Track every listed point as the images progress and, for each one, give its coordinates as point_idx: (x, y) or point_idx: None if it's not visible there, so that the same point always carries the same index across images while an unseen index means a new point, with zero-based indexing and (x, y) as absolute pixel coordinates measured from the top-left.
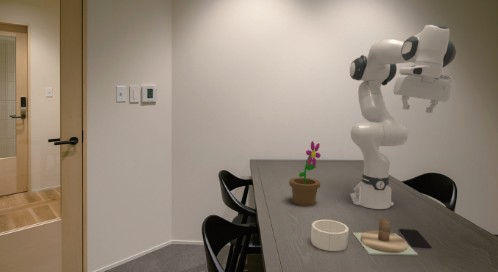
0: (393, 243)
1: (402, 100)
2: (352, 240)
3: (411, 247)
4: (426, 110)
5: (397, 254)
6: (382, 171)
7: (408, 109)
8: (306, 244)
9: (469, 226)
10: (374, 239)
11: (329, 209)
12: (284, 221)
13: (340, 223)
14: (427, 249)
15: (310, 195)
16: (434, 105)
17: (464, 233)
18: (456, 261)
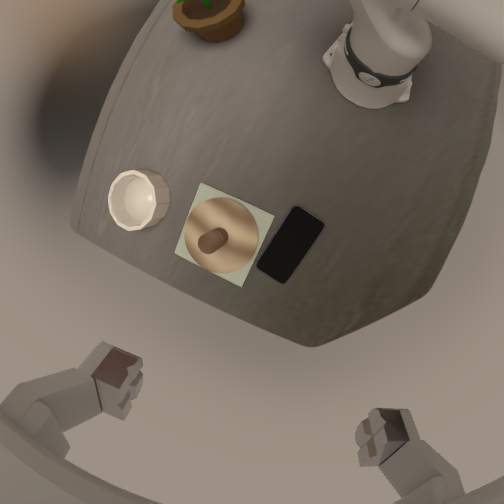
0: (223, 255)
1: (38, 385)
2: (183, 204)
3: (256, 264)
4: (374, 423)
5: (213, 272)
6: (383, 64)
7: (137, 385)
8: None
9: (440, 250)
10: (204, 230)
11: (245, 65)
12: (132, 104)
13: (152, 195)
14: (275, 280)
15: (210, 33)
16: (396, 488)
17: (401, 266)
18: (280, 320)
